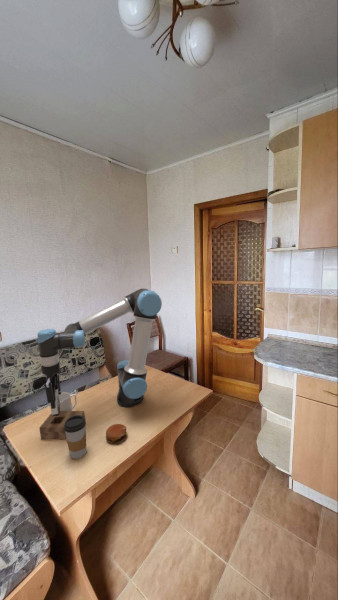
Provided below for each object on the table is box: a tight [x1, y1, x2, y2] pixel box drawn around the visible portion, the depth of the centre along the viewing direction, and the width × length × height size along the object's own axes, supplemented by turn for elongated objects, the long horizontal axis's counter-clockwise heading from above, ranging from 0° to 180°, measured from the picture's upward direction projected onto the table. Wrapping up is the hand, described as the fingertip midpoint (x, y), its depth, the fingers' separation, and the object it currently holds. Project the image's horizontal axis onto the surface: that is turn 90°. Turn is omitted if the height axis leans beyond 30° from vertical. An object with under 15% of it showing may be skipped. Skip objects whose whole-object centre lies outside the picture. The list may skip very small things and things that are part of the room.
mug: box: [59, 391, 78, 411], centre depth 129 cm, size 12×9×11 cm
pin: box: [52, 388, 61, 417], centre depth 115 cm, size 4×4×12 cm
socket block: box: [39, 410, 86, 441], centre depth 117 cm, size 16×12×6 cm
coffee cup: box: [64, 415, 87, 460], centre depth 102 cm, size 8×8×15 cm
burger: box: [105, 423, 128, 444], centre depth 111 cm, size 10×9×5 cm
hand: (56, 410), depth 115 cm, fingers closed on pin, 3 cm apart
